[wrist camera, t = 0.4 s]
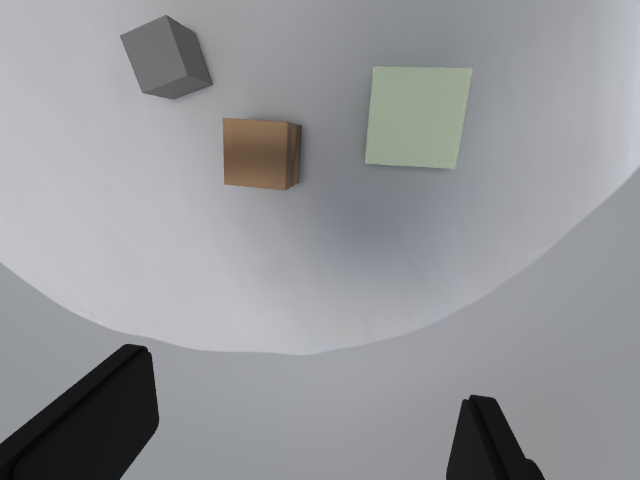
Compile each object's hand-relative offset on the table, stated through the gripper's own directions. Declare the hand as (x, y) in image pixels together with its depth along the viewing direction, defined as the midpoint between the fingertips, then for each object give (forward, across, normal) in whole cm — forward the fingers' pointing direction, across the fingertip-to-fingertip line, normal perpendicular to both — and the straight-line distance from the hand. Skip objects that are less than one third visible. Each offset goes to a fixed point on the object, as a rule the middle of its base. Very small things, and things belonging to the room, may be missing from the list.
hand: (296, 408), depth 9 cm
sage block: (+28, -5, -10) cm, 30 cm away
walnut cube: (+28, +9, -6) cm, 30 cm away
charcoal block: (+27, +19, -15) cm, 36 cm away
